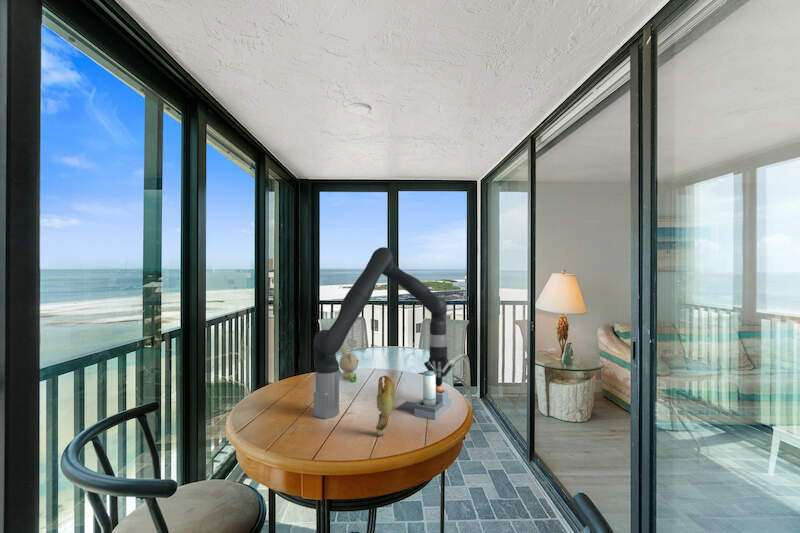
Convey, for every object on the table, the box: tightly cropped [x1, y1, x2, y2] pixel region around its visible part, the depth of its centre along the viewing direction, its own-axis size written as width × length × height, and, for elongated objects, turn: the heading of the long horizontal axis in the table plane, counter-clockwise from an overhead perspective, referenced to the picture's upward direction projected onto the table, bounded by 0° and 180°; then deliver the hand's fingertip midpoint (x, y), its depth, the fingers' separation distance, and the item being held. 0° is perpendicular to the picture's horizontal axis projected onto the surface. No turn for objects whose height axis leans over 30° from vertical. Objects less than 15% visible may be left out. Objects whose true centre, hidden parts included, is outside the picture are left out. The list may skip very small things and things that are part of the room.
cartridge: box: [422, 370, 436, 408], centre depth 142 cm, size 5×5×14 cm
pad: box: [394, 400, 419, 414], centre depth 148 cm, size 10×10×1 cm
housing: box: [413, 389, 453, 421], centre depth 145 cm, size 17×9×6 cm, turn 151°
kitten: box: [338, 348, 359, 383], centre depth 190 cm, size 15×10×15 cm
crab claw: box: [376, 375, 396, 437], centre depth 123 cm, size 7×5×20 cm
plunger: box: [436, 385, 444, 393], centre depth 150 cm, size 3×3×2 cm
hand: (438, 385), depth 150 cm, fingers closed
